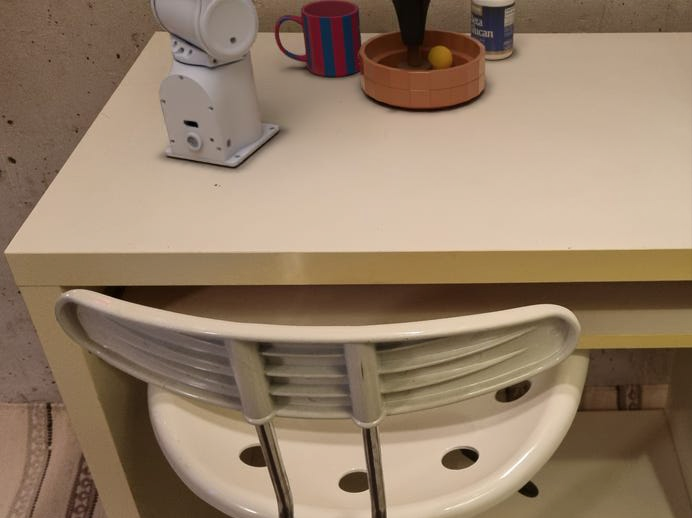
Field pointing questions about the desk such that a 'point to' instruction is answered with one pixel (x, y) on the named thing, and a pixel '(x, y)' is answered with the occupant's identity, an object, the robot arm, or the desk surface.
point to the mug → (328, 37)
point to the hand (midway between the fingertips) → (413, 41)
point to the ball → (440, 58)
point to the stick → (414, 60)
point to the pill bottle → (493, 26)
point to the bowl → (422, 71)
